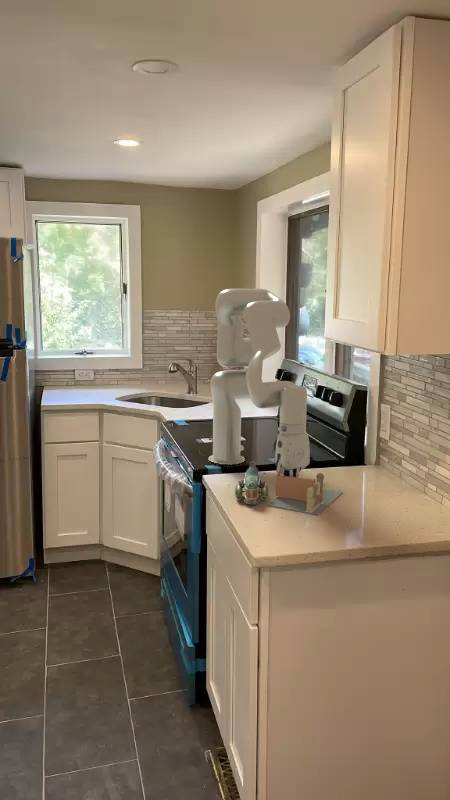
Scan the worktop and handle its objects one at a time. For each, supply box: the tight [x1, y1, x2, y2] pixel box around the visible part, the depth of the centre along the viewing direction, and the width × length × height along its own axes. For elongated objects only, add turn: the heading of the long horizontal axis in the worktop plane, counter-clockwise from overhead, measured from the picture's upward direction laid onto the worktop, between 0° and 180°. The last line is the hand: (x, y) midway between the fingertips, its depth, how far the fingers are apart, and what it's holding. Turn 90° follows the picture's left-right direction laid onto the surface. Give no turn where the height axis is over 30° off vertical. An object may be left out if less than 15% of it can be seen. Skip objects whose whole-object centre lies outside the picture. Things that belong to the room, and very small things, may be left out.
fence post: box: [307, 472, 325, 511], centre depth 178 cm, size 10×2×9 cm, turn 152°
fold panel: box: [274, 472, 316, 500], centre depth 183 cm, size 11×1×7 cm, turn 72°
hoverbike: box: [234, 461, 269, 507], centre depth 190 cm, size 10×25×8 cm, turn 177°
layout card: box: [266, 488, 343, 516], centre depth 185 cm, size 21×15×1 cm
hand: (290, 489), depth 187 cm, fingers closed
